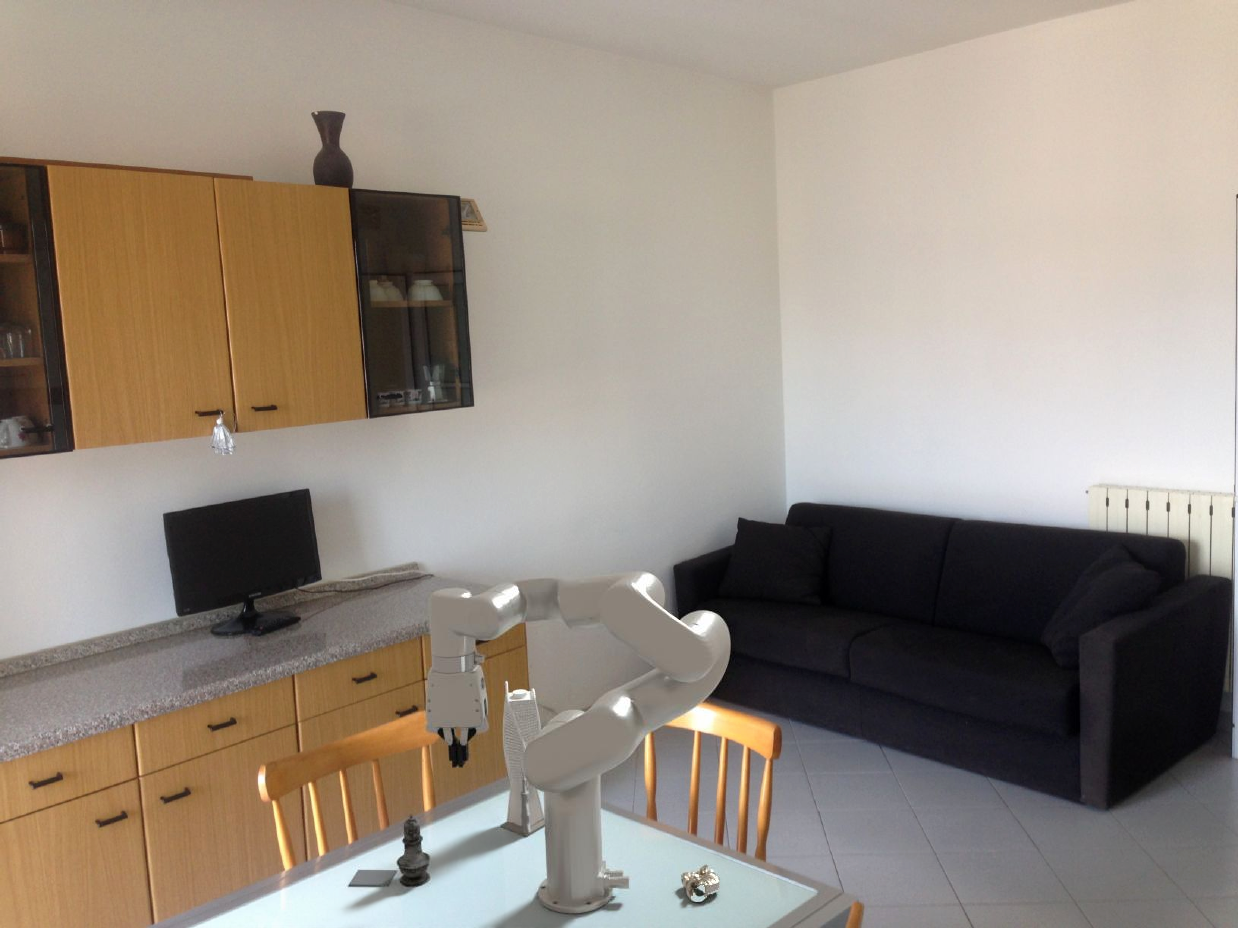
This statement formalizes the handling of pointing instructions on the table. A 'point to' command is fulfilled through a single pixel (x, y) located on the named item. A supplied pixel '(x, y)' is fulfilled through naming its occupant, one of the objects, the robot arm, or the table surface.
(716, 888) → the ornament
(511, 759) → the skyscraper
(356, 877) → the grey flat slab
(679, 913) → the table surface
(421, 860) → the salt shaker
